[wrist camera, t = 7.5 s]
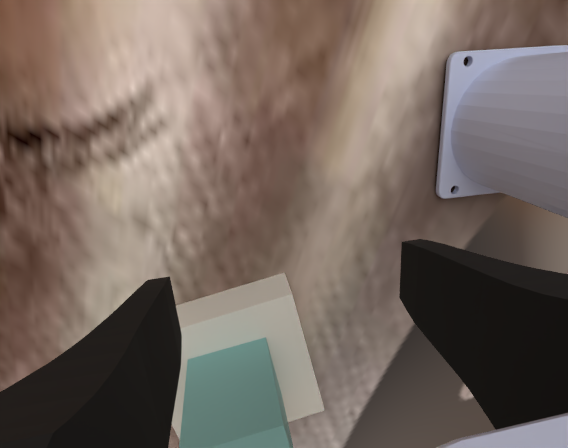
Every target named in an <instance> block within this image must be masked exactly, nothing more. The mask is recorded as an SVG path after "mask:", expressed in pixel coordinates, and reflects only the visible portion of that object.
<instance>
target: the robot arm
mask: <svg viewBox="0 0 568 448" xmlns="http://www.w3.org/2000/svg"><path fill="white" fill-rule="evenodd" d="M465 57H467V58H468V63H467V65H466V66H465V65H464V63H463V61H464V59H465ZM453 186H455V189H454V191H453V192H451V188H452V187H453ZM499 192H501V193H504V194H507V195H509V196H512V197H514V198H517V199H520V200H522V201H525V202H527V203H530V204H532V205H535V206H538V207H540V208H543V209H545V210H548V211H551V212H553V213H556V214H559V215H561V216H564V217H566V218H568V45H560V46H543V47H526V48H510V49H493V50H477V51H460V52H454V53H452V54H451V55H450V56H449V58H448V60H447V65H446V77H445V88H444V100H443V112H442V124H441V135H440V147H439V159H438V170H437V182H436V194H437V195H438V196H439V197H441V198H444V199H447V198H456V197H465V196H473V195H482V194H491V193H499ZM400 299H401V301H402V303H403V304H404V306H405V308H406V310H407V311H408V313H409V315H410V316H411V318H412V319H413V321H414V322H415V324H416V325H417V326H418V328H419V329H420V330H421V331H422V332H423V334H424V335H425V336H426V337H427V338H428V340H429V341H430V342H431V343H432V345H433V346H434V347H435V348H436V349H437V351H438V352H439V353H440V354H441V355H442V356H443V358H444V359H445V360H446V361H447V363H448V364H449V365H450V366H451V367H452V368H453V370H454V371H455V372H456V373H457V374H458V376H459V377H460V378H461V379H462V381H463V382H464V383H465V385H466V386H467V387H468V389H469V390H470V391H471V393H472V394H473V396H474V397H475V399H476V400H477V402H478V403H479V405H480V406H481V408H482V409H483V411H484V412H485V414H486V415H487V416H488V418H489V420H490V421H491V423H492V424H493V426H494V427H495V429H496V430H493V431H489V432H485V433H480V434H476V435H472V436H467V437H463V438H459V439H455V440H452V441H450V442H448V443H445V444H443V445H441V446H439V447H436V448H568V274H563V273H557V272H552V271H546V270H541V269H536V268H531V267H526V266H522V265H518V264H513V263H509V262H505V261H501V260H498V259H494V258H490V257H486V256H483V255H479V254H476V253H472V252H469V251H466V250H462V249H459V248H455V247H452V246H448V245H445V244H441V243H437V242H433V241H428V240H422V239H418V240H412V241H405V242H402V251H401V276H400ZM181 352H182V334H181V329H180V324H179V319H178V314H177V310H176V305H175V300H174V295H173V290H172V285H171V281H170V277H164V278H158V279H151V280H147V281H146V282H145V283H144V284H143V285H142V286H141V287H139V288H138V289H137V290H136V291H135V292H134V293H133V294H132V295H131V296H130V297H129V298H128V299H127V300H126V301H125V302H124V303H123V304H122V305H121V306H120V307H119V308H118V309H117V310H115V311H114V312H113V313H112V314H111V315H110V316H109V317H108V318H107V319H105V320H104V321H103V322H102V323H101V324H100V325H98V326H97V327H96V328H95V329H94V330H93V331H91V332H90V333H89V334H88V335H87V336H85V337H84V338H83V339H82V340H80V341H79V342H78V343H76V344H75V345H74V346H72V347H71V348H70V349H68V350H67V351H65V352H64V353H63V354H61V355H60V356H58V357H57V358H55V359H54V360H52V361H51V362H49V363H48V364H46V365H45V366H43V367H42V368H40V369H38V370H37V371H35V372H33V373H32V374H30V375H28V376H27V377H25V378H23V379H22V380H20V381H18V382H17V383H15V384H14V385H12V386H10V387H8V388H7V389H5V390H3V391H1V392H0V448H168V444H169V436H170V430H171V424H172V418H173V412H174V406H175V400H176V394H177V388H178V382H179V375H180V369H181Z"/></svg>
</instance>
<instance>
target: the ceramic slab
mask: <svg viewBox="0 0 568 448" xmlns="http://www.w3.org/2000/svg"><path fill="white" fill-rule="evenodd" d="M176 310H177V314H178V319H179V324H180V329H181V334H182V352H181V369H180V375H179V382H178V388H177V394H176V400H175V406H174V412H173V418H172V426H173V428H174V430H175V432H176V434H177V436H178V438H179V440H180V434H181V423H182V413H183V403H184V392H185V382H186V372H187V361H188V359H191V358H195V357H198V356H202V355H205V354H209V353H212V352H216V351H219V350H223V349H226V348H230V347H233V346H237V345H240V344H244V343H247V342H251V341H254V340H258V339H261V338H265V337H266V340H267V343H268V347H269V351H270V354H271V358H272V361H273V365H274V369H275V372H276V376H277V379H278V383H279V387H280V390H281V394H282V398H283V402H284V407H285V412H286V416H287V421H288V422H290V421H293V420H297V419H300V418H303V417H306V416H309V415H312V414H315V413H318V412H321V411H324V406H323V403H322V399H321V395H320V392H319V388H318V385H317V381H316V377H315V374H314V370H313V367H312V363H311V360H310V356H309V352H308V349H307V345H306V342H305V338H304V335H303V331H302V327H301V324H300V320H299V317H298V313H297V310H296V306H295V302H294V299H293V295H292V292H291V289H290V287H289V284H288V281H287V278H286V275H285V273H281V274H278V275H275V276H272V277H268V278H265V279H262V280H258V281H255V282H252V283H248V284H245V285H242V286H239V287H235V288H232V289H229V290H225V291H222V292H219V293H216V294H212V295H209V296H206V297H202V298H199V299H196V300H193V301H189V302H186V303H183V304H179V305H176Z"/></svg>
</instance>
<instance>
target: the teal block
mask: <svg viewBox="0 0 568 448" xmlns="http://www.w3.org/2000/svg"><path fill="white" fill-rule="evenodd" d="M179 448H293V444H292V439H291V435H290V430H289V426H288V421H287V416H286V412H285V407H284V402H283V398H282V394H281V390H280V387H279V383H278V379H277V376H276V372H275V369H274V365H273V361H272V358H271V354H270V351H269V347H268V343H267V340H266V337H265V338H261V339H258V340H254V341H251V342H247V343H244V344H240V345H237V346H233V347H230V348H226V349H223V350H219V351H216V352H212V353H209V354H205V355H202V356H198V357H195V358H191V359H188V361H187V372H186V382H185V392H184V403H183V413H182V423H181V434H180V444H179Z"/></svg>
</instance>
